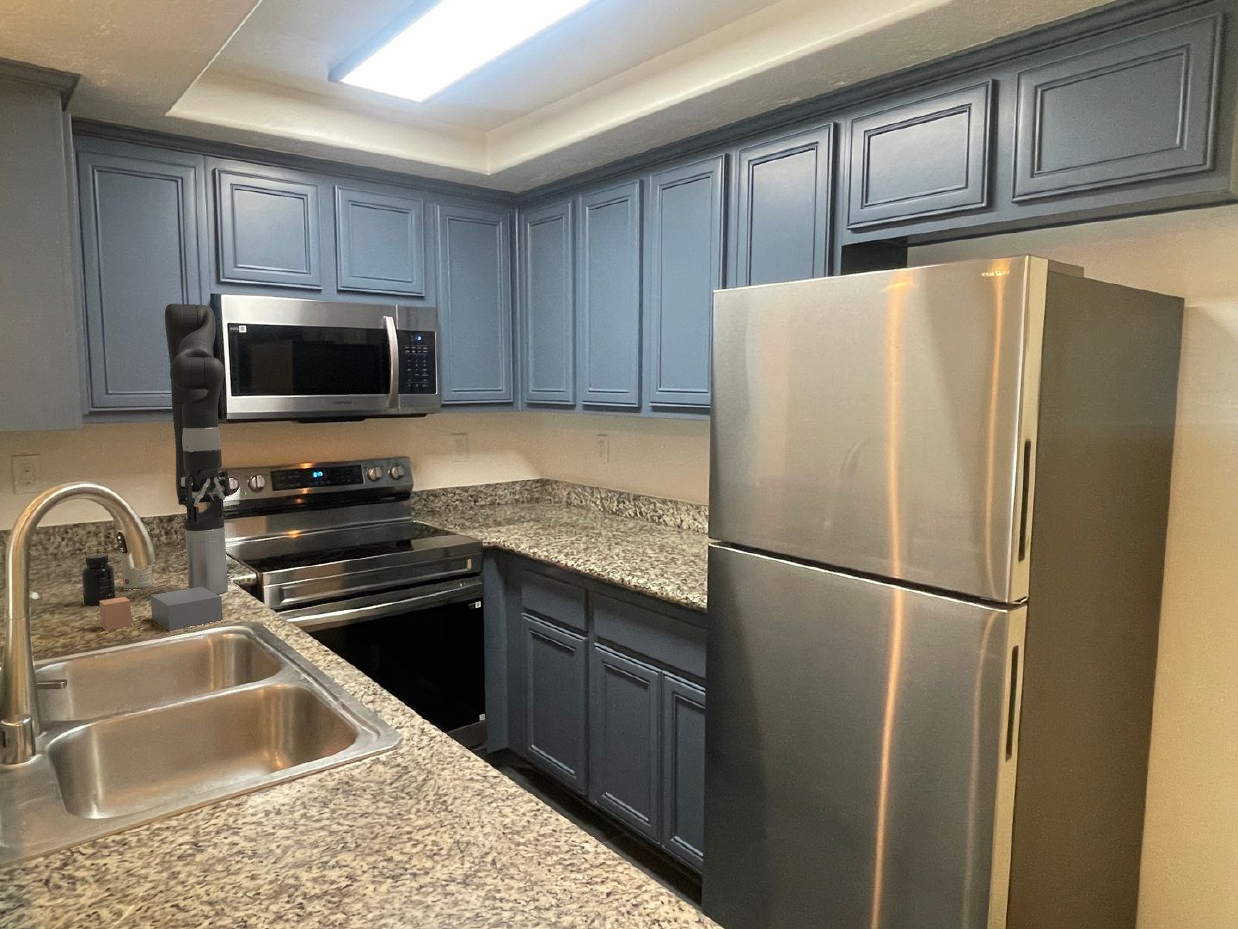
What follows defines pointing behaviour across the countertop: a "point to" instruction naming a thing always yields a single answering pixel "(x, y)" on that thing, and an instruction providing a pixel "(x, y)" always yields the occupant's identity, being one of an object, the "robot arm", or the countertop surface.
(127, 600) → the terracotta block
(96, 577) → the supplement bottle
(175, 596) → the charcoal storage box
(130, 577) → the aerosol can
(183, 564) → the countertop surface
